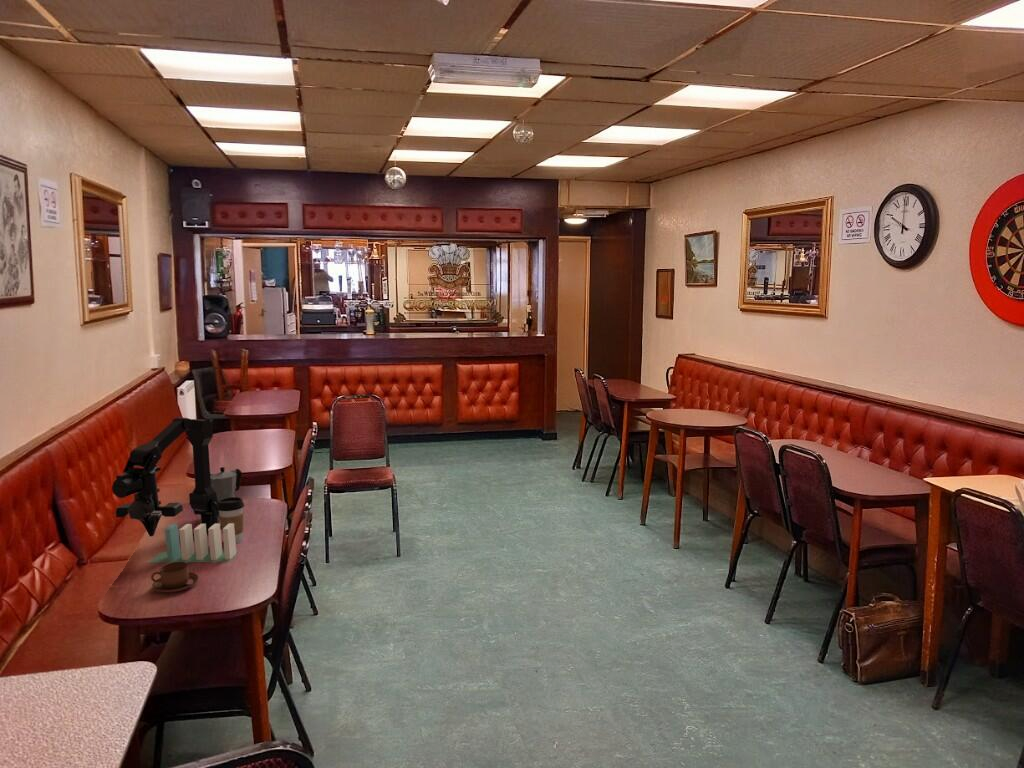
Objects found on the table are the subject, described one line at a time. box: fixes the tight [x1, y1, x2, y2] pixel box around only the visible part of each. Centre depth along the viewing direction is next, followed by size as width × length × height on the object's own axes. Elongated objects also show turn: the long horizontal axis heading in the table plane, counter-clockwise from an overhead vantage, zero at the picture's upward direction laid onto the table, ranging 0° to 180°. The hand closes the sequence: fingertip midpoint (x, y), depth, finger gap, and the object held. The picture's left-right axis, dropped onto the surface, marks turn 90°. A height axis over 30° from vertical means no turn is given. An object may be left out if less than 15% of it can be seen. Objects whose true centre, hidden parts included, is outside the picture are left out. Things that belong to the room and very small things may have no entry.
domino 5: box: [222, 523, 237, 560], centre depth 230 cm, size 5×2×10 cm, turn 179°
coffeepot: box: [210, 467, 243, 517], centre depth 272 cm, size 15×9×18 cm, turn 154°
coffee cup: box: [217, 496, 245, 545], centre depth 242 cm, size 8×8×15 cm
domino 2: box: [178, 523, 195, 560], centre depth 230 cm, size 5×2×10 cm, turn 179°
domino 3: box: [193, 523, 209, 560], centre depth 230 cm, size 5×2×10 cm, turn 179°
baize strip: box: [148, 551, 240, 564], centre depth 231 cm, size 8×26×1 cm, turn 89°
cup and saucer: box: [150, 562, 199, 593], centre depth 210 cm, size 12×12×6 cm
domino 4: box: [207, 523, 223, 560], centre depth 230 cm, size 5×2×10 cm, turn 179°
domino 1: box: [164, 523, 181, 560], centre depth 230 cm, size 5×2×10 cm, turn 179°
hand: (151, 535), depth 230 cm, fingers closed
